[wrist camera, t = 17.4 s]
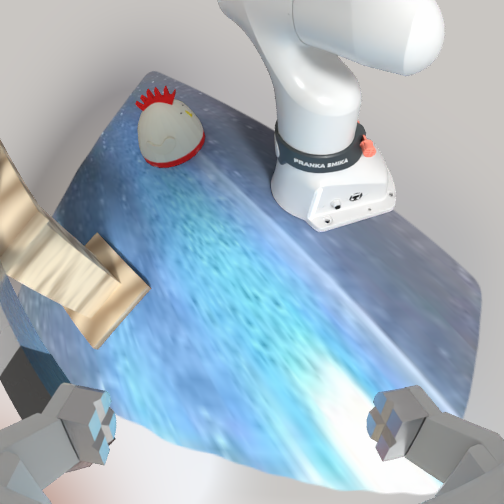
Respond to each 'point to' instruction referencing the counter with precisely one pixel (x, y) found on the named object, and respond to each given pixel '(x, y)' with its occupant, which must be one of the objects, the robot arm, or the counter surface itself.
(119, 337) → the counter surface
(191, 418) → the counter surface
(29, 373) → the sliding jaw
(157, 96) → the kitchen timer
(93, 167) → the counter surface
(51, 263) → the shelf
